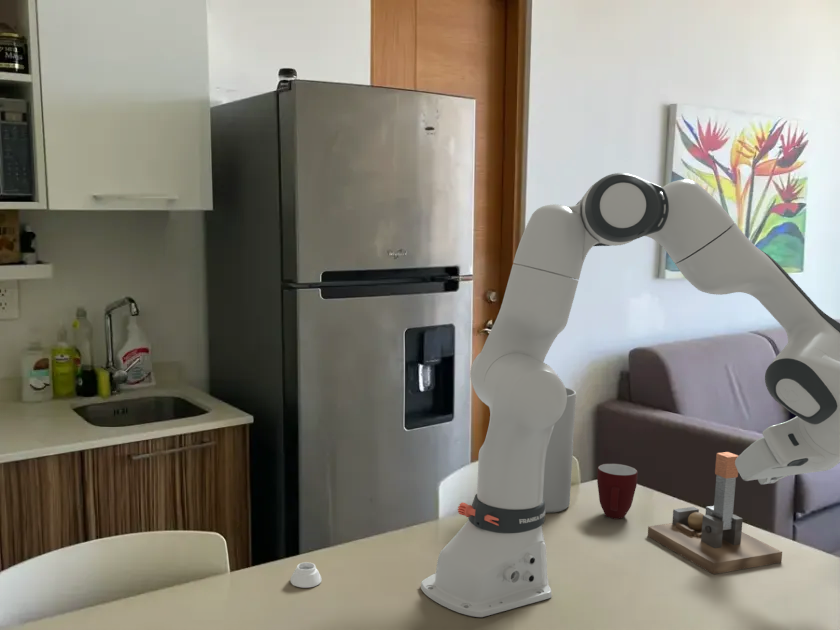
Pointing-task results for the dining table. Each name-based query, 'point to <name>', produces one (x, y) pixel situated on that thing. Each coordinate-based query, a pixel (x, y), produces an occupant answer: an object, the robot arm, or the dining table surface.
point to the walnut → (695, 521)
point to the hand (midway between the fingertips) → (764, 480)
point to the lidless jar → (306, 575)
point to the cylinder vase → (560, 459)
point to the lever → (724, 489)
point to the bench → (712, 555)
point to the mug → (616, 489)
